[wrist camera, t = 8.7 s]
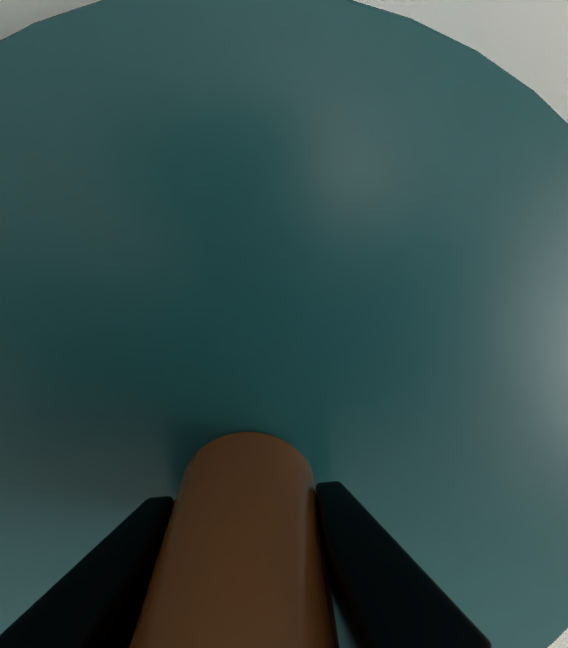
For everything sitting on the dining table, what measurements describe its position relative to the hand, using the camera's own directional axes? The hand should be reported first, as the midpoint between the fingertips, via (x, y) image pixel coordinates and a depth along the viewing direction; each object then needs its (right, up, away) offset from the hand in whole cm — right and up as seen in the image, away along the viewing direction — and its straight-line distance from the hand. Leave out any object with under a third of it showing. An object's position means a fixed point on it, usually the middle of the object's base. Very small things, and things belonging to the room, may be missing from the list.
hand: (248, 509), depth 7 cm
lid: (0, 0, +1) cm, 1 cm away
